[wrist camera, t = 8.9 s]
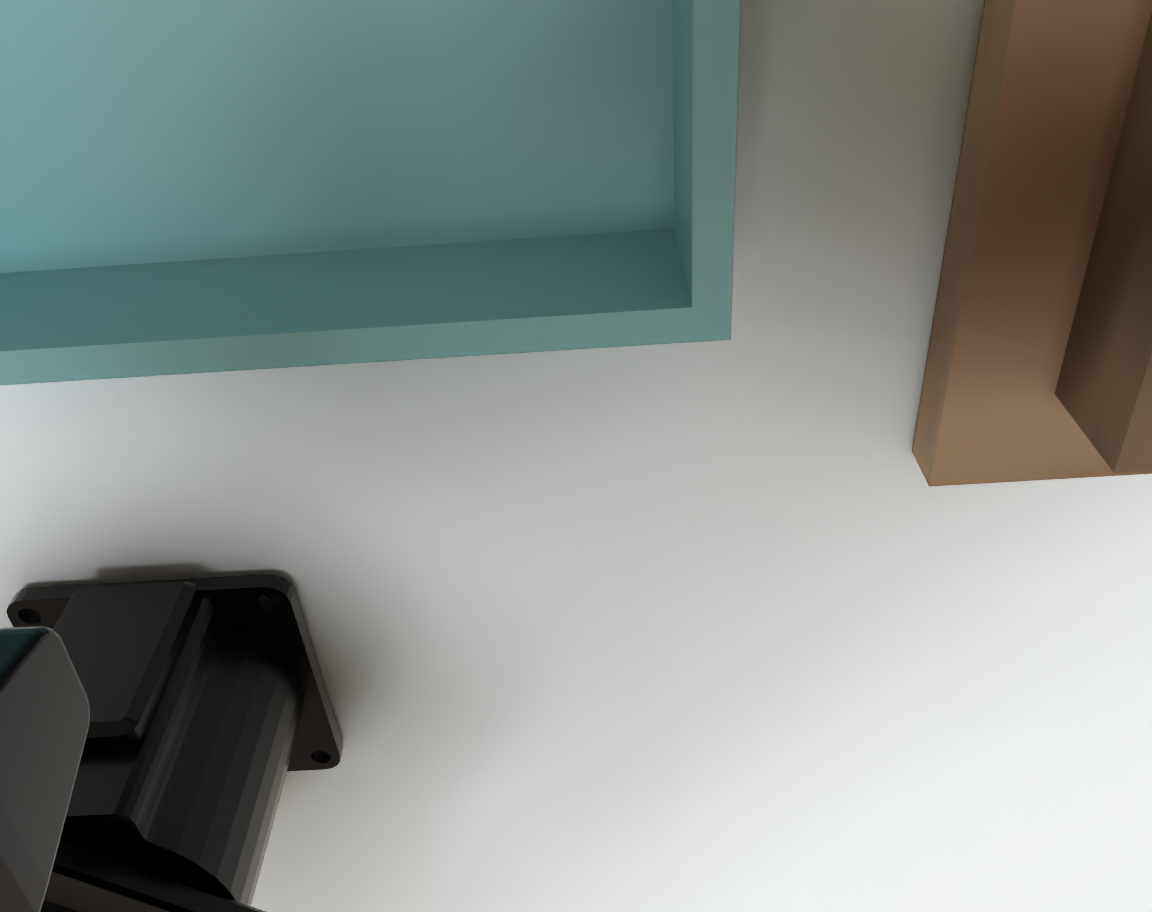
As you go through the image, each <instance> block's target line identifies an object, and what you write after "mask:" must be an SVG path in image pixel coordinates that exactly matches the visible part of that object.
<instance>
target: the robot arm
mask: <svg viewBox="0 0 1152 912" xmlns="http://www.w3.org/2000/svg"><path fill="white" fill-rule="evenodd" d="M265 595H272V596H274V597H275V598H277V599H271V598H268V597H266V596H265ZM32 609H33V610H32ZM34 610H35V611H34ZM7 614H8V618H9V620H10V621H11V623H12V625H13V627H12V628H1V629H0V912H265V911H262V910H259V909H256V908H254V907H251V903H252V899H253V895H254V892H255V888H256V884H257V880H258V877H259V873H260V869H261V865H262V862H263V858H264V854H265V851H266V847H267V843H268V839H269V836H270V832H271V828H272V824H273V821H274V817H275V813H276V809H277V806H278V802H279V798H280V795H281V791H282V787H283V783H284V780H285V776H286V772H287V771H298V770H318V769H329V768H333V767H334V766H336V765H338V763H339V762H340V759H341V754H342V750H343V742H342V739H341V736H340V733H339V730H338V726H337V723H336V720H335V717H334V714H333V711H332V707H331V704H330V701H329V698H328V695H327V692H326V688H325V685H324V682H323V679H322V676H321V673H320V669H319V666H318V663H317V660H316V657H315V654H314V650H313V647H312V644H311V641H310V638H309V635H308V631H307V628H306V625H305V622H304V619H303V615H302V612H301V609H300V606H299V603H298V600H297V596H296V593H295V590H294V588H293V587H292V585H291V583H289V582H288V581H287V580H286V579H284V578H282V577H279V576H276V575H253V576H235V577H217V578H200V579H182V580H164V581H146V582H128V583H111V584H93V585H75V586H57V587H39V588H27V589H23V590H21V591H19V592H18V593H17V594H16V595H15V597H14V598H13V600H12V601H11V603H10V604H9V606H8V609H7Z"/></svg>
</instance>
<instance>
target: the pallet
mask: <svg viewBox="0 0 1152 912" xmlns="http://www.w3.org/2000/svg"><path fill="white" fill-rule="evenodd" d="M912 452H913V454H914V456H915V458H916V460H917V462H918V464H919V466H920V468H921V471H922V473H923V475H924V477H925V479H926V481H927V483H928V485H929V486H943V485H961V484H978V483H995V482H1013V481H1030V480H1047V479H1065V478H1082V477H1099V476H1117V475H1134V474H1151V473H1152V0H985V6H984V12H983V18H982V24H981V30H980V36H979V43H978V49H977V55H976V61H975V67H974V73H973V80H972V86H971V92H970V98H969V104H968V110H967V117H966V123H965V129H964V135H963V141H962V148H961V154H960V160H959V166H958V172H957V178H956V185H955V191H954V197H953V203H952V209H951V215H950V222H949V228H948V234H947V240H946V246H945V252H944V259H943V265H942V271H941V277H940V283H939V290H938V296H937V302H936V308H935V314H934V320H933V327H932V333H931V339H930V345H929V351H928V357H927V364H926V370H925V376H924V382H923V388H922V394H921V401H920V407H919V413H918V419H917V425H916V432H915V438H914V444H913V450H912Z"/></svg>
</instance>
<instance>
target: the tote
mask: <svg viewBox="0 0 1152 912" xmlns="http://www.w3.org/2000/svg"><path fill="white" fill-rule="evenodd" d="M739 30H740V0H0V385H11V384H27V383H43V382H59V381H75V380H91V379H107V378H123V377H139V376H155V375H171V374H187V373H203V372H219V371H235V370H251V369H268V368H284V367H300V366H316V365H332V364H348V363H364V362H380V361H396V360H412V359H428V358H444V357H460V356H476V355H492V354H508V353H524V352H540V351H556V350H572V349H588V348H604V347H620V346H636V345H652V344H668V343H684V342H700V341H716V340H731V309H732V274H733V239H734V204H735V169H736V134H737V99H738V64H739Z"/></svg>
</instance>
